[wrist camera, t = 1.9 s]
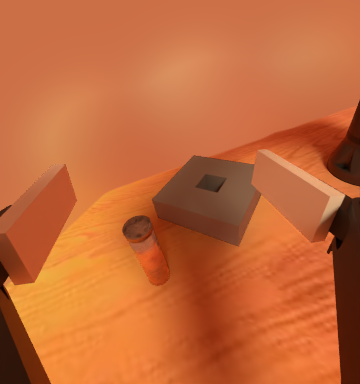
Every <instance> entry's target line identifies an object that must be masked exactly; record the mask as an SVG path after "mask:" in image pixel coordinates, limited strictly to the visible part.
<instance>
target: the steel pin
mask: <svg viewBox="0 0 360 384" xmlns="http://www.w3.org/2000/svg"><path fill="white" fill-rule="evenodd" d="M123 234H124V236H125V238H126V239H127V241H128V242H129V243H130V245H131V247H132V249H133V251H134V253H135V255H136V256H137V258H138V260H139V262H140V264H141V266H142V268H143V270H144V271H145V273H146V275H147V277H148V279H149V281H150V282H151V283H152V284H153V285H156V286H159V285H162V284H164V283H165V282H166V281H167V280H168V278H169V275H170V272H169V269H168V266H167V264H166V261H165V259H164V256H163V254H162V251H161V248H160V246H159V243H158V241H157V238H156V235H155V233H154V230H153V226H152V223H151V221H150V219H149V218H148V217H146V216H135V217H133V218H131V219H129V220H128V221H127V222H126V223H125V224H124V226H123Z"/></svg>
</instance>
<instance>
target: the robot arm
mask: <svg viewBox="0 0 360 384" xmlns="http://www.w3.org/2000/svg"><path fill="white" fill-rule="evenodd" d="M327 167H328V169H329V171H330V172H331V173H332V174H333V175H334V176H336V177H337V178H339V179H341V180H343V181H345V182H348V183H351V184H354V185H358V186H360V101H359V104H358V106H357V109H356V111H355V114H354V117H353V119H352V122H351V124H350V127H349V130H348V132H347V135H346V137H345V138H344V140H343V141H342V142H341V143H340V144H339V146H338V147H337V148H336V149H335V150H334V152H333V153H332V154H331V156H330V158H329V160H328V163H327ZM251 184H252V185H253V186H254V187H255V188H256V189H257V190H258V191H259V192H260V193H261V194H262V195H263V196H264V197H265V198H266V199H267V200H268V201H269V202H270V203H271V204H272V205H273V206H274V207H275V208H276V209H277V210H279V211H280V212H281V213H282V214H283V215H284V216H285V217H286V218H287V219H288V220H289V221H290V222H291V223H292V224H293V225H294V226H295V227H296V228H297V229H298V230H299V231H300V232H301V233H302V234H303V235H304V236H305V237H306V238H307V239H308V240H309V241H310V242H311V243H312V242H319V241H325V239H326V236H327V234H328V232H331V233H332V234H333V235H334V238H333V240H332V242H331V244H330V246H329V248H328V251H327V253H328V254H329V253H330V251H333V266H334V281H335V296H336V310H337V325H338V340H339V355H340V369H341V384H360V197H359V198H353V199H352V198H350V197H349V196H347V195H345V194H343V193H342V192H340V191H338V190H337V189H335V188H332V187H331V186H330V185H327V184H326V183H325V182H323V181H321V180H319V179H317V178H315V177H314V176H312V175H310V174H308V173H307V172H305V171H303V170H302V169H300V168H298V167H296V166H295V165H293V164H291V163H290V162H288V161H286V160H285V159H283V158H281V157H279V156H278V155H276V154H274V153H273V152H271V151H269V150H267V149H264V150H257V154H256V160H255V165H254V171H253V176H252V182H251ZM76 201H77V199H76V196H75V193H74V190H73V187H72V184H71V180H70V177H69V174H68V171H67V168H66V165H65V164H58V165H52V166H51V167H50V168H49V169H48V170H47V171H46V172H45V173H44V174H43V175H42V176H41V177H40V178H39V179H38V180H37V181H36V182H35V183H34V184H33V185H32V186H31V187H30V188H29V189H28V190H27V191H26V192H25V193H24V194H23V195H22V196H21V197H20V198H19V199H18V200H17V201H16V202H15V203H14V204H13V205H10V206H8V207H6V208H5V209H3V210H1V211H0V384H51V383H50V380H49V378H48V376H47V374H46V372H45V370H44V368H43V366H42V363H41V361H40V359H39V357H38V355H37V353H36V351H35V349H34V347H33V344H32V342H31V340H30V338H29V336H28V334H27V332H26V330H25V327H24V325H23V323H22V321H21V319H20V317H19V315H18V313H17V310H16V308H15V306H14V304H13V302H12V300H11V298H10V296H9V293H8V291H7V289H6V288H5V287H4V285H3V284H4V282H5V281H6V279H7V278H8V276H9V277H10V279H11V280H12V282H13V283H14V285H20V284H27V283H34V282H35V280H36V279H37V277H38V275H39V273H40V271H41V269H42V267H43V265H44V263H45V261H46V259H47V257H48V255H49V253H50V251H51V250H52V248H53V246H54V244H55V242H56V240H57V238H58V236H59V234H60V232H61V230H62V228H63V226H64V224H65V222H66V220H67V219H68V217H69V215H70V213H71V211H72V209H73V207H74V205H75V203H76Z"/></svg>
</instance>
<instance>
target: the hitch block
mask: <svg viewBox="0 0 360 384" xmlns="http://www.w3.org/2000/svg"><path fill="white" fill-rule="evenodd" d="M253 171H254V164H247V163H240V162H234V161H227V160H221V159H214V158H207V157H201V156H193V157H192V158H191V159H190V160H189V161H188V162H187V163H186V164H185V165H184V166H183V167H182V168H181V169H180V171H179V172H178V173H177V174H176V175H175V176H174V177H173V178H172V179H171V180H170V181H169V182H168V183H167V184H166V185H165V186H164V187H163V189H162V190H161V191H160V192H159V193H158V194H157V195H156V196H155V197H154V198H153V199H152V201H153V204H154V206H155V209H156V212H157V215H158V218H161V219H164V220H166V221H169V222H172V223H175V224H178V225H180V226H183V227H186V228H189V229H191V230H194V231H197V232H200V233H203V234H205V235H208V236H211V237H214V238H217V239H219V240H222V241H225V242H228V243H230V244H233V245H236V246H239V244H240V242H241V240H242V237H243V235H244V233H245V230H246V228H247V226H248V224H249V221H250V219H251V217H252V214H253V212H254V210H255V208H256V205H257V203H258V201H259V198H260V196H261V193H260V192H259V191H258V190H257V189H256V188H255V187H254V186H253V185H252V184H251V182H252V176H253Z"/></svg>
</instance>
